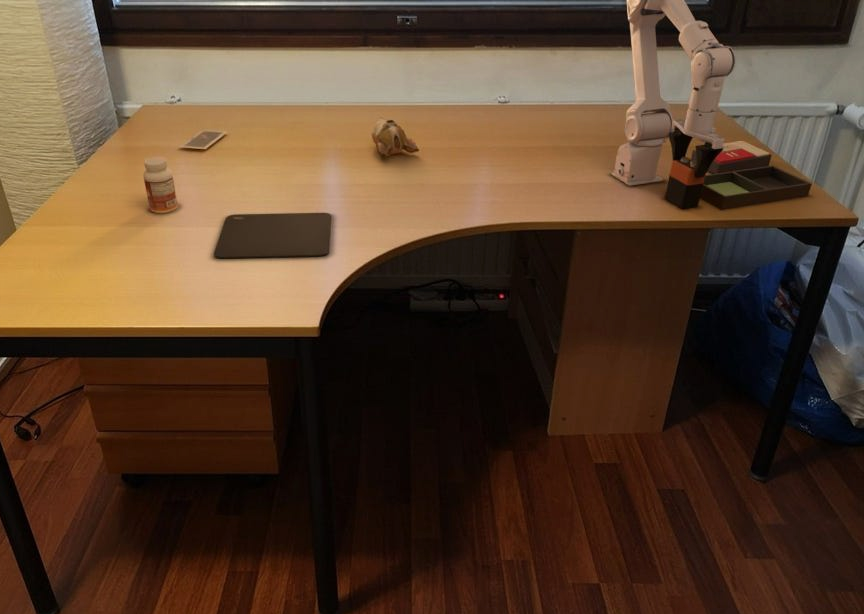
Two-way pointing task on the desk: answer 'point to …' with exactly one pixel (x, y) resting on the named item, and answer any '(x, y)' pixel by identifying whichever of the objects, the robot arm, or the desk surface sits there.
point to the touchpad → (203, 139)
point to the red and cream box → (737, 158)
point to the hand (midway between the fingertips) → (688, 170)
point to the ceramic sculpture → (391, 138)
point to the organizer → (752, 187)
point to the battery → (684, 184)
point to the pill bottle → (159, 185)
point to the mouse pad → (274, 235)
